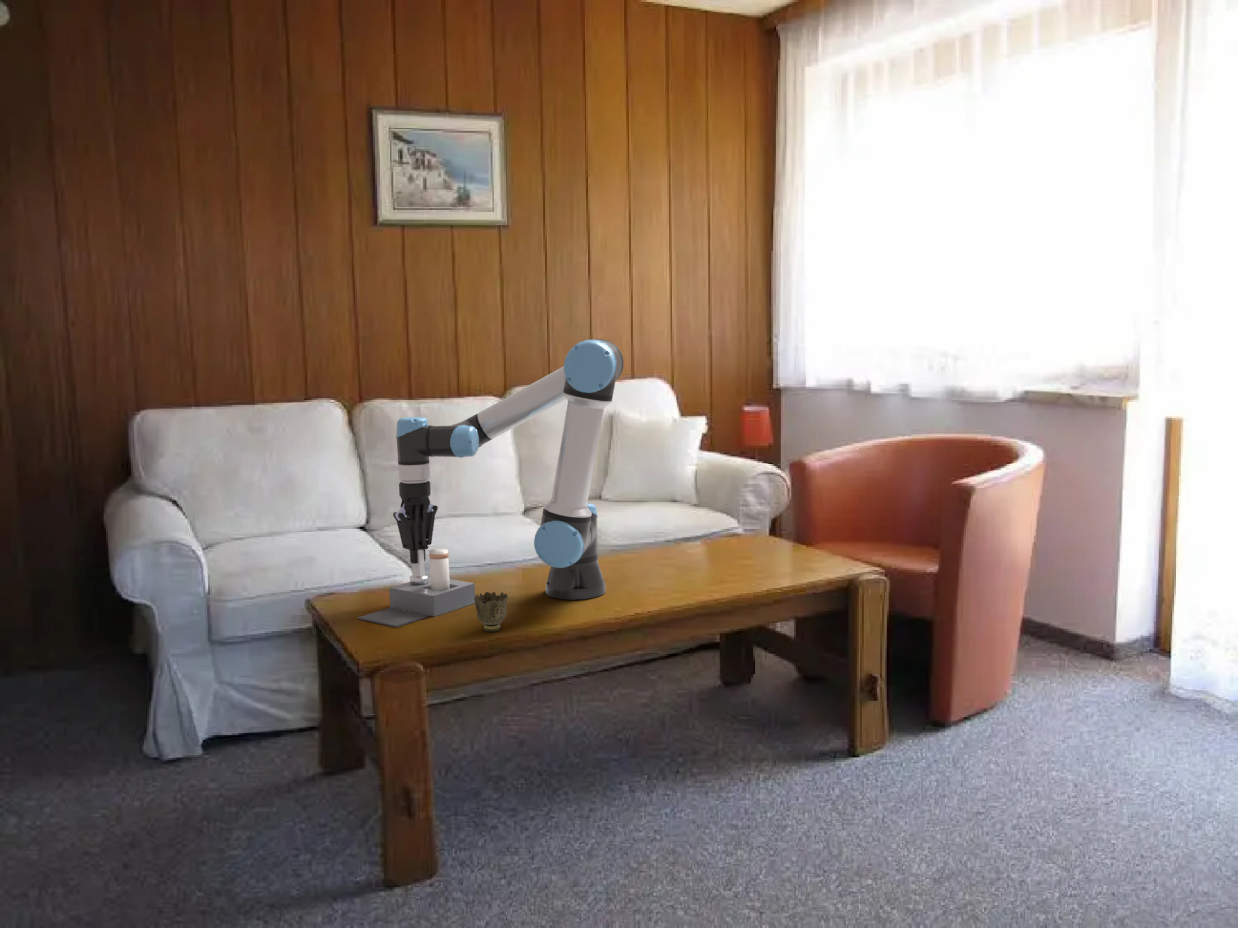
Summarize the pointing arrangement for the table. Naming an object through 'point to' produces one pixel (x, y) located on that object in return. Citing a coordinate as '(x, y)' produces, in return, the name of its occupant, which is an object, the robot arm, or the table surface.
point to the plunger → (418, 580)
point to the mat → (393, 617)
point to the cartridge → (439, 569)
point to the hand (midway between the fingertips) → (418, 575)
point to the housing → (432, 597)
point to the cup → (491, 610)
